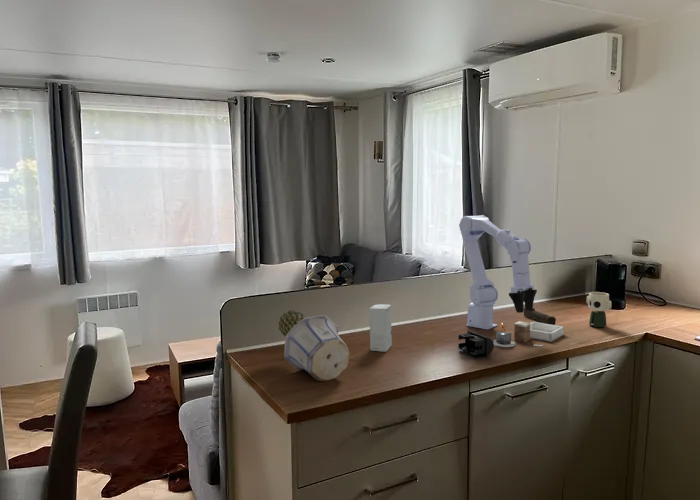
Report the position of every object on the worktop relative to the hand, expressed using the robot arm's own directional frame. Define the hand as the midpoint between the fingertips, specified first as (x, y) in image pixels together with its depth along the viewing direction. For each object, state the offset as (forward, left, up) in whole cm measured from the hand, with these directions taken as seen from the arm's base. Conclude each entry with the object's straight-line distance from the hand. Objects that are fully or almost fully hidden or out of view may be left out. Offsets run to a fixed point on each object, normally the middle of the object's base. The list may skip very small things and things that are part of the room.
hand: (524, 311), depth 191 cm
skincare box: (-33, -41, -11) cm, 54 cm away
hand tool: (-8, +29, -11) cm, 32 cm away
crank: (-5, -7, -10) cm, 13 cm away
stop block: (-1, -1, -11) cm, 10 cm away
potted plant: (-37, -71, -11) cm, 81 cm away
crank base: (+1, -8, -10) cm, 13 cm away
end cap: (-5, -26, -11) cm, 28 cm away
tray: (+2, +9, -10) cm, 14 cm away
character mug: (+14, +35, -11) cm, 39 cm away
